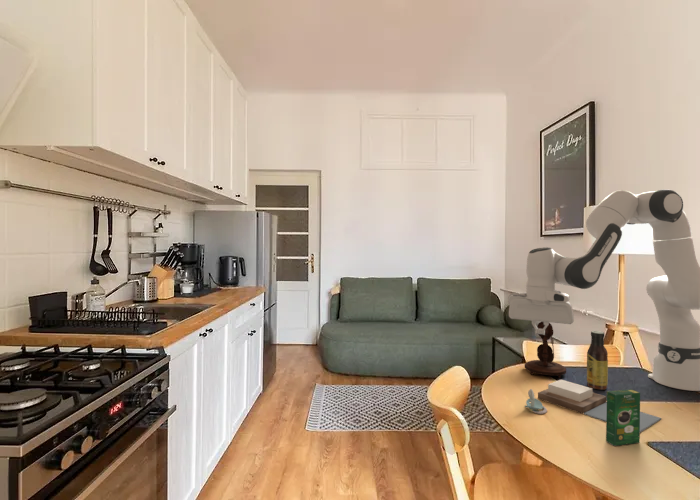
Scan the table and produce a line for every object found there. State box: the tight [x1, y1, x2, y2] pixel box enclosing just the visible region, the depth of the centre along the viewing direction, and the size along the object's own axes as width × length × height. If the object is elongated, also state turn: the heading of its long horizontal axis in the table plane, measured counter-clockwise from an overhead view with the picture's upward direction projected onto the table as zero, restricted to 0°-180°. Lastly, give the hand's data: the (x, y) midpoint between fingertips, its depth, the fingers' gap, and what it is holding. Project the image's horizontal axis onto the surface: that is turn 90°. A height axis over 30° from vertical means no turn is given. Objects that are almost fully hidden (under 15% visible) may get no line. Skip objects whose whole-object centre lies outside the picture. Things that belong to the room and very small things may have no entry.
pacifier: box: [524, 388, 548, 415], centre depth 117 cm, size 7×6×6 cm
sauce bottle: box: [586, 330, 609, 391], centre depth 136 cm, size 7×6×20 cm
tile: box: [547, 379, 594, 402], centre depth 125 cm, size 8×10×2 cm
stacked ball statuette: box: [524, 321, 567, 379], centre depth 152 cm, size 15×15×20 cm
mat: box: [583, 401, 662, 433], centre depth 112 cm, size 15×14×1 cm
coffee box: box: [605, 388, 641, 447], centre depth 98 cm, size 8×3×13 cm, turn 103°
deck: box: [537, 388, 607, 415], centre depth 124 cm, size 15×14×2 cm
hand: (540, 334), depth 133 cm, fingers closed
